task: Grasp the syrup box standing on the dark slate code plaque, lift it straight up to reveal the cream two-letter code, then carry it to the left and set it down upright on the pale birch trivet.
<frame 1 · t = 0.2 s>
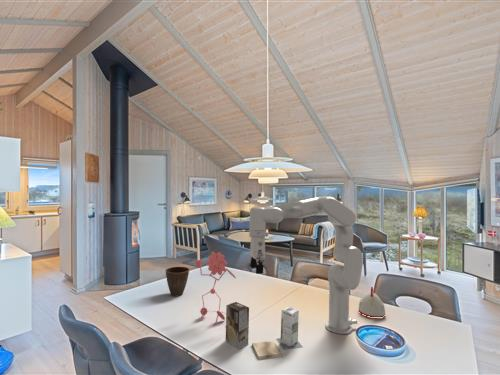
hand: (256, 270, 129), 31 cm above the table, fingers open, 9 cm apart
syrup box: (289, 342, 124), resting on code plaque
code plaque: (289, 342, 124), on the table
plant pot: (176, 294, 181), on the table
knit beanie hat: (371, 314, 159), on the table
birch trivet: (266, 350, 117), on the table
coffee box: (236, 343, 123), on the table
figurine: (215, 318, 148), on the table
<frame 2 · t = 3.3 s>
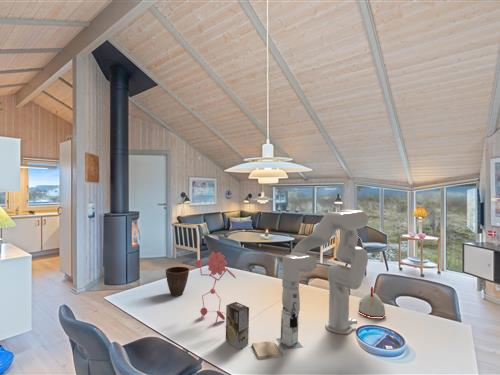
hand: (289, 322, 125), 9 cm above the table, fingers closed on syrup box, 7 cm apart
syrup box: (289, 342, 124), resting on code plaque, touching gripper
everything else where it was.
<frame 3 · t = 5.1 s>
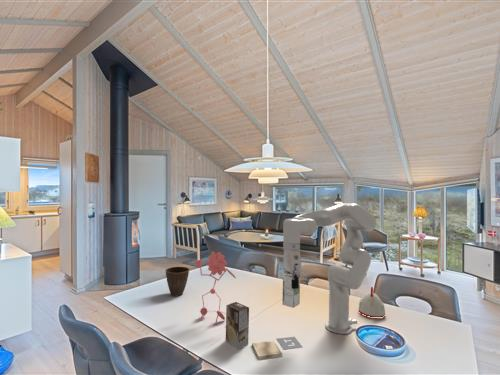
hand: (291, 285, 125), 26 cm above the table, fingers closed on syrup box, 7 cm apart
syrup box: (291, 305, 125), point 17 cm above the table, touching gripper
everything else where it was.
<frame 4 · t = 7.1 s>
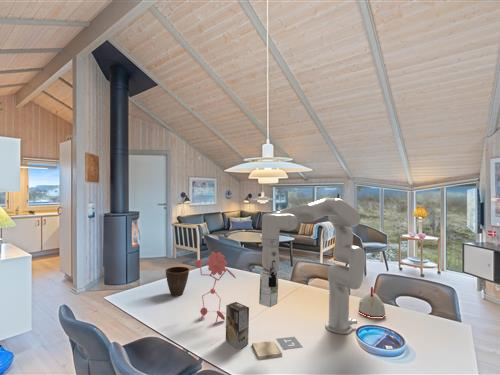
hand: (269, 283, 119), 28 cm above the table, fingers closed on syrup box, 7 cm apart
syrup box: (268, 304, 118), point 19 cm above the table, touching gripper
everything else where it was.
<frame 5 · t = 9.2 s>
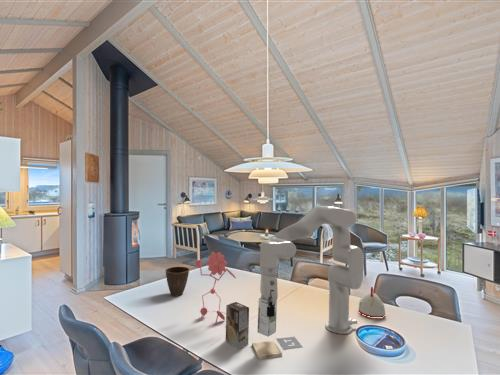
hand: (267, 311, 118), 16 cm above the table, fingers closed on syrup box, 7 cm apart
syrup box: (266, 333, 118), point 7 cm above the table, touching gripper
everything else where it was.
when the fingers open (11 cm above the table, at t = 10.8 s): syrup box drops 1 cm, resting on birch trivet.
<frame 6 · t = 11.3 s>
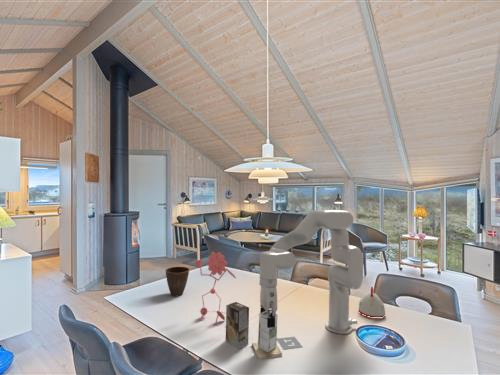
hand: (267, 321, 118), 12 cm above the table, fingers open, 9 cm apart
syrup box: (267, 348, 117), point 1 cm above the table, touching birch trivet
everything else where it was.
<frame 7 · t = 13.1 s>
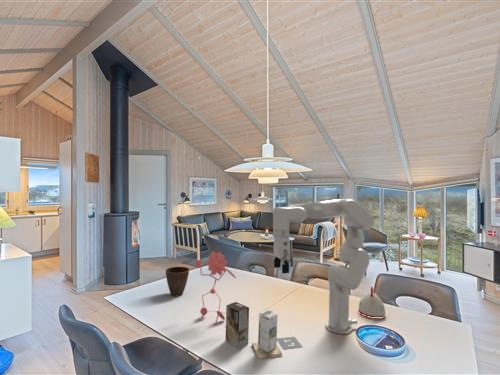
hand: (281, 270, 129), 31 cm above the table, fingers open, 9 cm apart
nothing on the table moved.
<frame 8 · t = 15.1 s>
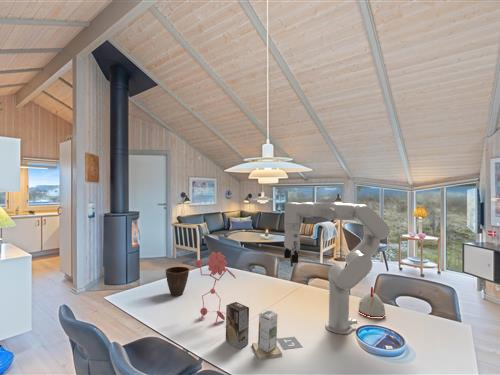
hand: (290, 260, 140), 33 cm above the table, fingers open, 9 cm apart
nothing on the table moved.
at the end: syrup box inside the target area on the birch trivet (0.3 cm from its centre), point 1.1 cm above the birch trivet's base; syrup box tilted 0°; syrup box touching birch trivet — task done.
